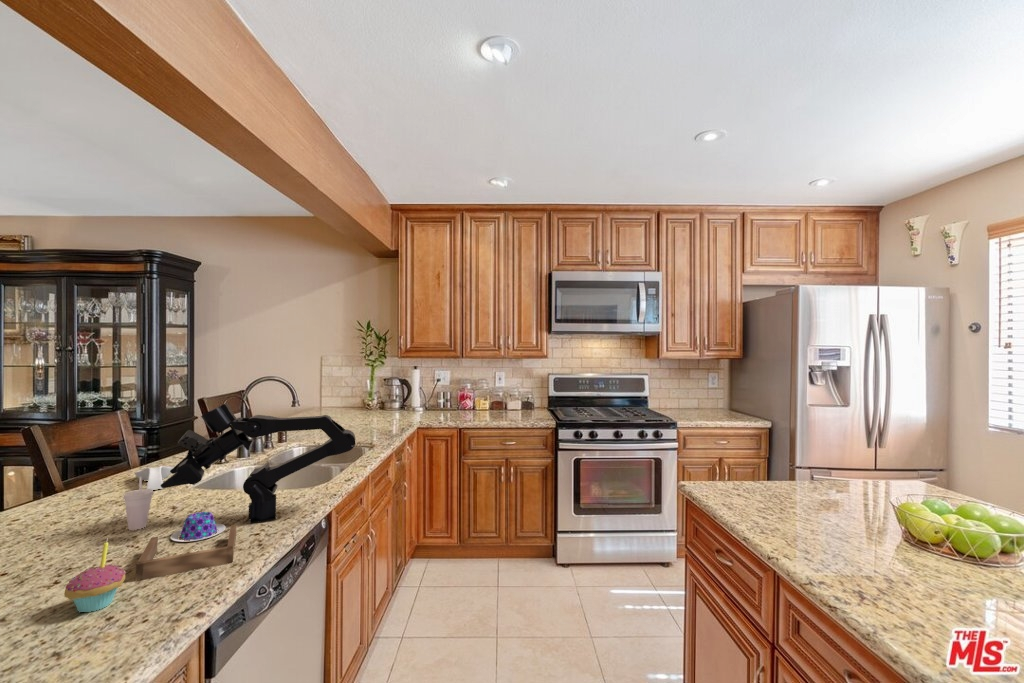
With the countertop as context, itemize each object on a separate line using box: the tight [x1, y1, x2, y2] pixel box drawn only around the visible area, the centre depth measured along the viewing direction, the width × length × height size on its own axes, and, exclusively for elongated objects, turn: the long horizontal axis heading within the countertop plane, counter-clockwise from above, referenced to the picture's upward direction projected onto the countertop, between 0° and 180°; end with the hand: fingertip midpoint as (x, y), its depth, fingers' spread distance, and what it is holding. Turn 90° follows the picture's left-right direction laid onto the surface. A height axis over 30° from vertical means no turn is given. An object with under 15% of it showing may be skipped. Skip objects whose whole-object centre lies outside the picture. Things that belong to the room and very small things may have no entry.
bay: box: [134, 524, 237, 581], centre depth 104 cm, size 17×15×4 cm
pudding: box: [170, 511, 226, 543], centre depth 117 cm, size 12×12×5 cm
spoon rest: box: [134, 465, 175, 490], centre depth 160 cm, size 24×12×7 cm, turn 40°
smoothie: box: [122, 476, 154, 531], centre depth 120 cm, size 6×6×14 cm
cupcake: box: [64, 537, 126, 613], centre depth 84 cm, size 9×8×12 cm
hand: (166, 479), depth 120 cm, fingers open, 9 cm apart
